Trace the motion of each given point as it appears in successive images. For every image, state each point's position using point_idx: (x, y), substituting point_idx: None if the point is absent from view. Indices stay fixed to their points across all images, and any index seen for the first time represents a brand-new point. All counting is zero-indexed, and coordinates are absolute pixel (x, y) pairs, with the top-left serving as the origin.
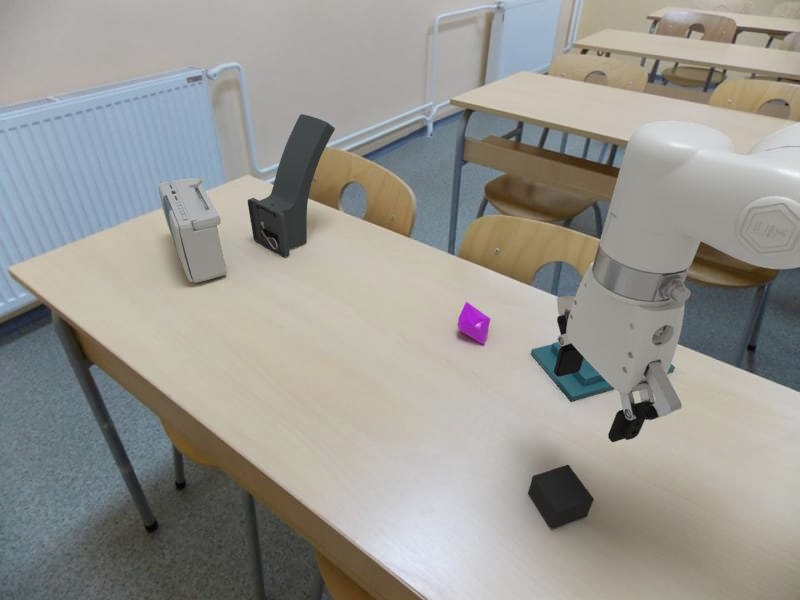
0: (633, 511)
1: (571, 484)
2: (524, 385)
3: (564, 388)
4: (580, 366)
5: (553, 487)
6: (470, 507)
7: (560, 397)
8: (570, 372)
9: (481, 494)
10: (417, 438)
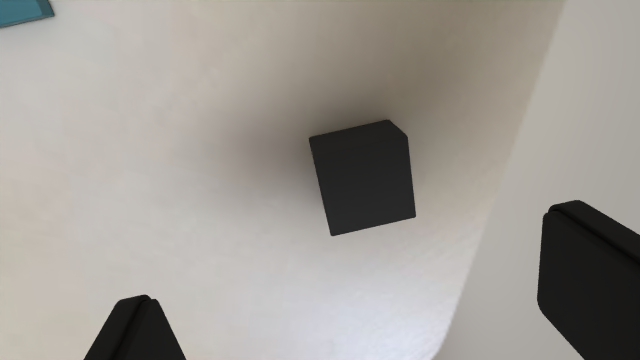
0: (399, 13)
1: (365, 169)
2: (5, 127)
3: (6, 24)
4: (142, 322)
5: (365, 207)
6: (335, 296)
7: (40, 41)
8: (171, 342)
9: (314, 278)
10: (192, 352)
